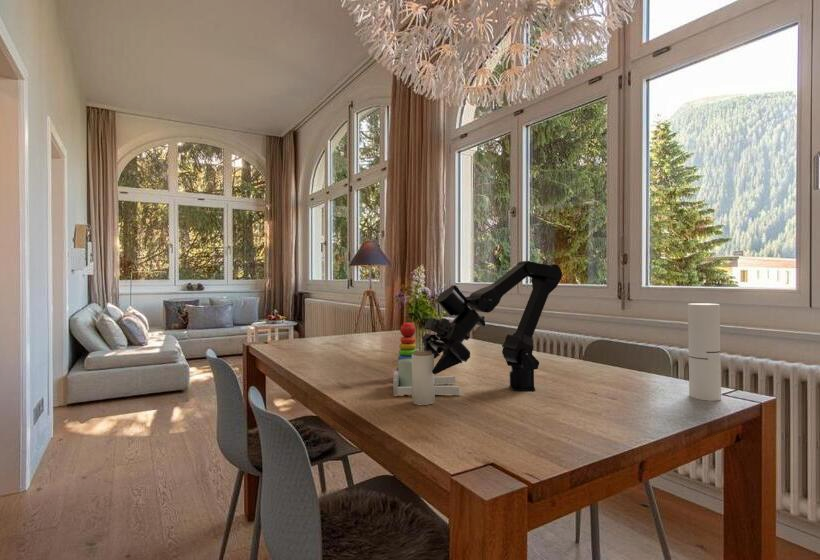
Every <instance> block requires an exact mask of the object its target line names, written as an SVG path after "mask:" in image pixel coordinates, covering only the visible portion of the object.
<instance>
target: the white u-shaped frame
mask: <svg viewBox="0 0 820 560" xmlns="http://www.w3.org/2000/svg"><path fill="white" fill-rule="evenodd" d="M392 379H393V380H392V384H393V385H392V387H393V388H392V389H393V390H392V391H393V392H392V393H393V395H397V394H412V387H399V386H398V384H399V377H398V371H396V370H394V371H393V378H392ZM437 383H439V384H441V383H444V384H445V383H455V384H456V376H455V375H447V376H443V375H442V376H434V384H437ZM434 386H435V394H454V395H460V396H461V386H459V385H458V386H457V385H434Z"/></svg>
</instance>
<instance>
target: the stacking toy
mask: <svg viewBox="0 0 820 560" xmlns="http://www.w3.org/2000/svg"><path fill="white" fill-rule="evenodd" d="M399 331H400V334H401V336H402V337H401V338H400V339H399V341H400V344H399V346H398V347H399V350H398V354H399V356H398V357H397V358H398V360H400V359H412V354H413V353H414V351H416V350H417V349H416V348H417V347H416V346H417V344H415V342H416V337H414V335H415V333H416V326H415V325H414V324H413V323H412V322H408V321H407V322H404V323H403V324H402V325H401V326H400V329H399ZM395 371H398V367H396V370H395ZM398 377H399V374H398Z"/></svg>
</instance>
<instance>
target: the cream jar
mask: <svg viewBox="0 0 820 560" xmlns="http://www.w3.org/2000/svg"><path fill="white" fill-rule="evenodd" d="M434 367H435V359H434V354H433V353H432V351H430V350H424V349H416V351H414V353H413V354H412V396H411V397H412V399H411V400H412V401H413V403H416V404H421V405H426V404H432V403H434V402H435V403H436V399H435V398H436V396H435V386H436V385H434V377H435V374H433V373H432V370H433V369H434ZM413 403H412V404H413ZM435 403H434V404H435Z"/></svg>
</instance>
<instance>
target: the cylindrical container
mask: <svg viewBox="0 0 820 560" xmlns="http://www.w3.org/2000/svg"><path fill="white" fill-rule="evenodd" d="M720 305H721V304H719V303H708V302H707V303H703V302H702V303H701V302H699V303H697V302H695V303H687V325H688V326H687V328H688V329H687V332H688V334H687V335H688V337H687V339H688V341H687V342H688V344H687V345H688V390H689V391H688V392H689V393H688V394H689V395H688V396H689V397H691V399H692V398H693V399H696V400H703V401H711V402H712V401H713V402H716V401H720V400H721V399H722V370H721V369H722V368H721V367H722V366H721V364H722V363H721V362H722V361H721V360H722V359H721V357H722V356H721V307H720Z"/></svg>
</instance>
